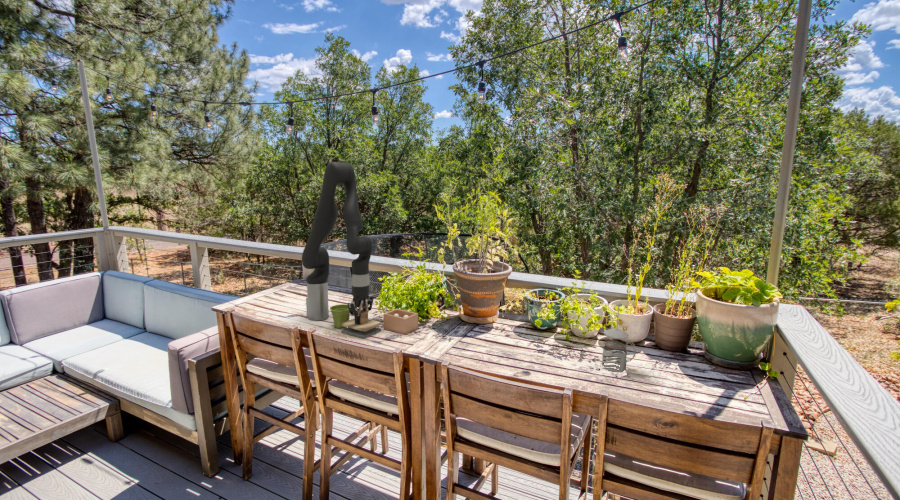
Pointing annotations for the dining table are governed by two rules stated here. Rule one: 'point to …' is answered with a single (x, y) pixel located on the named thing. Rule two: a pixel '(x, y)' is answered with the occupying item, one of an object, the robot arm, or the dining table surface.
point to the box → (400, 321)
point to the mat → (361, 332)
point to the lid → (362, 322)
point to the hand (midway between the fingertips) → (361, 322)
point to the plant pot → (340, 314)
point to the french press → (616, 348)
